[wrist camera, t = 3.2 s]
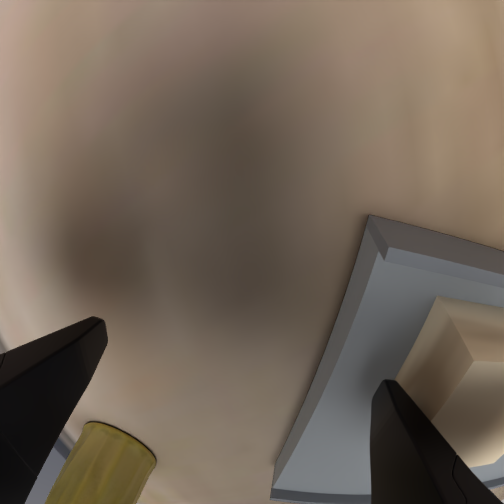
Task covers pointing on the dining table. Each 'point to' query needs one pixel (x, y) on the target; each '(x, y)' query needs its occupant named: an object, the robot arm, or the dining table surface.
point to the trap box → (378, 355)
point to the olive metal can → (103, 469)
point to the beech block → (461, 377)
